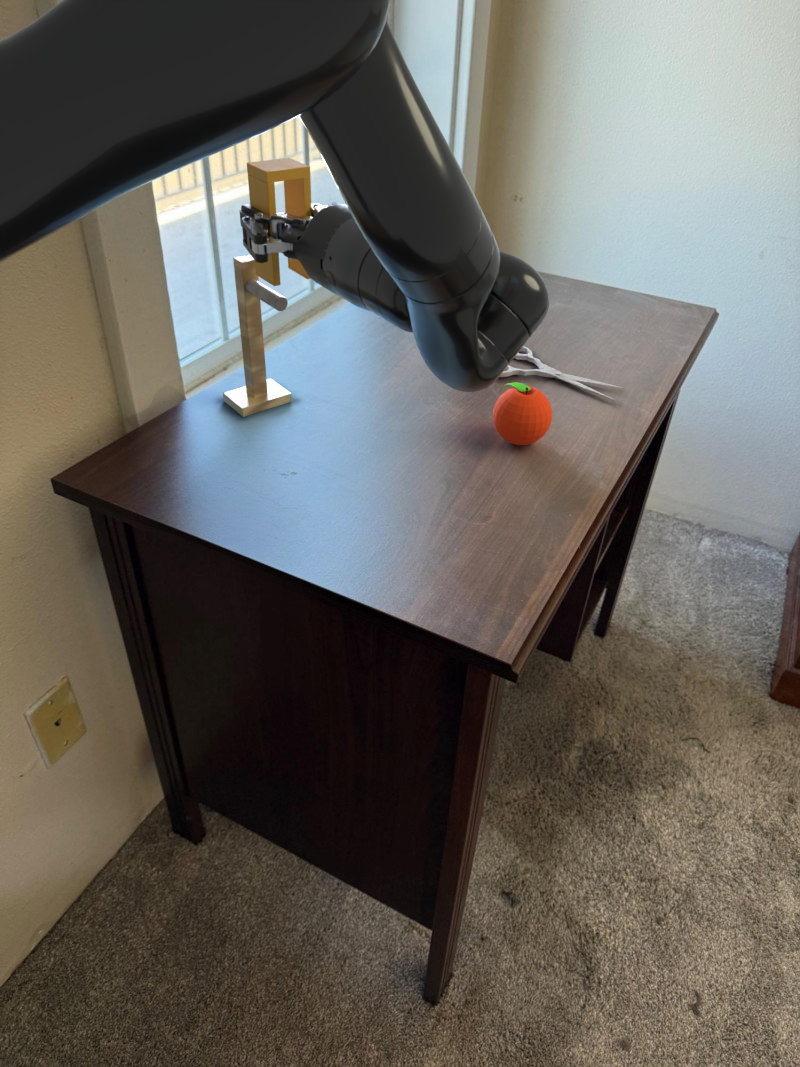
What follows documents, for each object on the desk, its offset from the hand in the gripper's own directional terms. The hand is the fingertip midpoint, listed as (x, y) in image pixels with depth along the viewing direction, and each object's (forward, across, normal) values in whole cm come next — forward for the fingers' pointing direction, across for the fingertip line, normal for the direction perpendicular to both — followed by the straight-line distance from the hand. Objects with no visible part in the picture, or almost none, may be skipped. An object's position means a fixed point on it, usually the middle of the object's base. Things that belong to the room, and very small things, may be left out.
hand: (268, 211), depth 77 cm
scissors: (-12, -36, +24) cm, 45 cm away
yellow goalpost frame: (-3, 0, +6) cm, 7 cm away
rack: (+2, +1, +24) cm, 24 cm away
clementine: (-21, -20, +24) cm, 38 cm away
